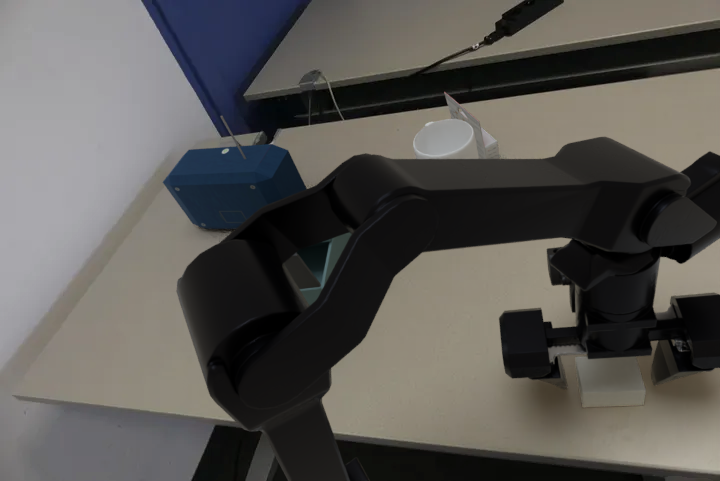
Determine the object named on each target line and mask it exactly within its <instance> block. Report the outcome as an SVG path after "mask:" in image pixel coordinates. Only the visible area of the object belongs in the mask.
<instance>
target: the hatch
mask: <svg viewBox="0 0 720 481" xmlns="http://www.w3.org/2000/svg"><path fill="white" fill-rule="evenodd" d="M284 265H285V266H286V268H287V270H288V271H289V273H290V274H291V276H292V278H293V279H294V281H295V283H296V284H297V286H298V287H299V289H307V288H316V287H321V284H320V282H319V281H318V280H317V278H316V277H315V276H314V275H313V273H312V272H311V271H310V269H309V268H308V267H307V265H306V264H305V263H304V261H303V260H302V259H301V257H300V256H299V255H298V254H297V253H295V254H294V255H293V256H292V257H290V258H289V259H288V260H287V261H286V262H285V263H284Z"/></svg>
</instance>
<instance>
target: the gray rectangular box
mask: <svg viewBox="0 0 720 481" xmlns="http://www.w3.org/2000/svg"><path fill="white" fill-rule="evenodd" d="M574 359H575V360H574V363H575V364H574V367H575V369H574V371H575V376H576V381H577V388H578V391H579V398H580V402H581V407H582V408H604V407H605V408H606V407H609V408H610V407H636V406H637V407H638V406H644V405H645V399H646V393H647V389H646V385H645V382H644V379H643V376H642V372H641V368H640V365H639V362H638V358H637V356H636V357H619V358H602V359H588V357H587V355H583V356H581V355H580V356H575V357H574Z"/></svg>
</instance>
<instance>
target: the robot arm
mask: <svg viewBox="0 0 720 481" xmlns="http://www.w3.org/2000/svg"><path fill="white" fill-rule="evenodd" d="M349 232H350V233H351V236H350V238H349V240H348V242H347V244H346V246H345V248H344V249H343V251H342V253H341V255H340V257H339V259H338V261H337V263H336V264H335V266H334V268H333V270H332V272H331V274H330V276H329V278H328V280H327V281H326V283H325V285H324V287H323V289H322V291H321V293H320V295H319V297H318V298H317V300H316V301H315V302H313V303H312V304H311V305H309V304H308V302H307V301H306V299H305V297H304V296H303V294H302V292H301V291H300V289H299V287H298V286H297V284H296V283H295V281H294V279H293V278H292V276H291V274H290V273H289V271H288V270H287V268H286V266H285V265H284V263H285V262H286V261H287V260H288V259H289V258H290V257H292V256H293V255H294V254H295V253H296V252H297V251H299V250H300V249H303V248H306V247H309V246H312V245H315V244H317V243H320V242H323V241H326V240H329V239H332V238H335V237H337V236H340V235H343V234H346V233H349ZM552 239H569V240H570V241H568V242H567V243H566V244H565V245H564V246H557V247H549V248H548V247H547V248H546V262H547V270H548V276H549V281H550V285H551V286H552V287H553V286H554V287H556V286H564V287H565V286H568V289H569V290H568V293H569V305H570V306H569V307H570V311H571V313H572V314H575V326H564V327H563V326H561V327H553V323H552V321H551V320H550V321H545V320H544V315H543V310H542V307H532V308H519V309H508V310H507V309H506V310H503V312H502V313H501V314H500V315H499V317H498V323H499V334H500V344H501V345H500V346H501V355H502V356H501V357H502V364H503V369H504V374H506V376H508V377H510V378H511V379H512V380H513V379H528V380H530V381H540V382H543V383H547V384H550V385H553V386H555V387H556V388H559V389H561V390H568V382H567V375H566V370H565V367H564V364H563V360H562V357H563V356H579V355H580V356H581V355H586V356H587V357H588V359H602V358H619V357H636V358H637V357H651V356H652V354H653V347H652V342H657V344H656V347H655V350H654V354H653V359H652V361H651V364H650V378H651V381H652V384H653V386H660V385H664V384H666V383H669V382H672V381H675V380H679V379H682V378H685V377H689V376H694V375H697V374H701V373H707V372H713V371H714V370H715V369H720V293H717V292H705V293H703V292H702V293H694V294H691V293H690V294H681V295H680V294H679V295H671V296H670V299H669V305H670V306H668V308H667V310H666V311H659V312H655V310H654V304H655V296H656V289H657V283H658V276H659V270H660V263H661V258H666V259H669V260H672V261H675V262H676V263H677V264H679V265H682V264H685V263H686V262H688V261H689V260H691V259H693V257H695V256H696V255H698V254H700V253H701V252H702V251H704V250H705V249H707V248H708V247H710V246H711V245H712V244H714V243H715V242H717V241H719V240H720V155H719V154H718V153H716V152H713V151H710V150H709V151H707V152H706V153H704V154H703V155H701V156H700V157H698V158H697V159H696V160H695V161H694V162H692V164H691V163H690V165H689V166H687V167H685V168H684V169H683V170H681V171H678V170H677V169H674V168H672V167H670V166H668V165H666V164H664V163H662V162H660V161H658V160H656V159H654V158H652V157H650V156H648V155H646V154H644V153H642V152H639V151H637V150H636V149H633V148H631V147H629V146H627V145H626V144H623V143H621V142H619V141H618V140H615V139H613V138H611V137H608V136H598V137H597V136H596V137H592V138H588V139H587V138H586V139H582V140H578V141H572V142H568V143H567V144H564V145H563V146H561V148H560V149H559V150H558V152H557V153H556V154H555V155H554V156H549V157H545V158H499V159H416V158H390V157H387V156H384V155H381V154H375V153H374V154H371V153H365V152H364V153H361V154H355V155H353V156H351V157H349V158H347V159H346V160H344V161H343V162H341V163H340V164H339V165H338V166H336V168H335V169H333V170H332V171H330V173H328V174H327V175H326V176H325V177H324V178H323V179H322V180H320V181H319V182H318V183H317V184H315V185H314V186H311V187H309V188H307V189H306V190H303V191H301V192H298V193H296V194H293V195H291V196H288V197H286V198H283V199H281V200H278V201H276V202H273V203H271V204H268V205H266V206H263V207H262V208H260V209H259V210H257V211H256V212H255V213H254V214H253V215H251V216H250V217H249V218H248V219H247V220H246V221H244V222H243V223H242V224H241V225H240V226H239V227H237V228H236V229H233V231H232V232H230V233H229V234H228V235H227V236H226V237H225V238H223V239H222V240H221V241H219V243H216V244H214V245H213V246H211V247H209V248H207V249H206V250H204V251H202V252H200V253H199V254H198V255H197V256H196V257H194V259H193V260H192V261H191V262H190V263H188V264H187V265H186V267H185V269H184V271H183V273H182V275H181V276H180V277H179V278H178V279H177V281H176V291H175V292H176V295H177V298H178V301H179V306H180V308H181V311H182V314H183V317H184V320H185V324H186V327H187V330H188V333H189V336H190V339H191V342H192V345H193V349H194V351H195V355H196V357H197V359H198V364H199V367H200V370H201V373H202V376H203V379H204V382H205V386H206V389H207V391H208V394H209V396H210V398H211V400H213V402H214V403H215V404H216V405H217V406H218V407H219V408H221V409H222V410H223V411H224V412H225V414H227V415H228V417H229V418H231V419H233V421H234V422H235V423H237V424H238V425H239V427H241V428H242V429H243V430H245V431H247V432H259V431H260V432H261V433H262V434H263V435H264V437H265V439H266V441H267V443H268V445H269V447H270V449H271V451H272V453H273V455H274V456H275V458H276V460H277V463H278V464H279V466H280V468H281V470H282V472H283V474H284V476H285V477H286V479H287V481H371V480H370V478H369V476H368V475H367V472H366V471H365V469H364V467H363V466H362V464H361V462H360V460H359V458H358V457H354V458H353V459H351V460H350V461H348V462H347V463H345V462H344V459H343V457H342V454H341V451H340V449H339V446H338V442H337V440H336V436H335V435H334V432H333V428H332V426H331V423H330V421H329V418H328V415H327V412H326V409H325V406H324V403H323V398H324V397H325V396H326V395H327V393H329V391H330V389H331V387H332V384H333V381H332V380H333V378H332V368H333V367H334V366H336V365H337V364H338V363H339V362H340V361H342V360H343V359H344V358H345V357H346V356H347V355H349V354H350V353H351V352H352V351H353V350H354V349H356V348H357V347H359V345H360V344H361V343H362V342H363V341H364V339H365V338H366V337H367V335H368V333H369V331H370V329H371V327H372V324H373V322H374V321H375V318H376V316H377V314H378V312H379V311H380V308H381V306H382V304H383V302H384V299H385V297H386V295H387V293H388V291H389V289H390V287H391V284H392V283H393V280H394V279H395V277H396V276H397V275H398V274H400V273H401V272H402V270H404V269H405V268H406V267H407V266H409V265H411V263H412V262H413V261H414V260H416V259H417V258H418V257H419V256H420V255H422V254H423V253H431V252H441V251H449V250H451V251H452V250H459V249H470V248H478V247H486V246H487V247H488V246H496V245H497V246H498V245H507V244H517V243H522V242H523V243H525V242H533V241H534V242H535V241H543V240H552ZM561 356H562V357H561Z"/></svg>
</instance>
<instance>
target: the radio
mask: <svg viewBox="0 0 720 481" xmlns="http://www.w3.org/2000/svg"><path fill="white" fill-rule="evenodd" d="M220 119H221V121H222V122H223V124H224V126H225V128H226V130H227V131H228V133H229V134H230V136H231V138H232V140H233V142H234V144H235V146H223V147H221V146H220V147H210V148H209V147H207V148H192V149H191V148H190V149H188V150H187V151H186V152H185V153H184V154H183V155H182V156H181V158H180V159H179V160H178V161H177V163H176V164H175V165H174V166H173V167H172V169H171V170H170V172H169V173H168V174H167V176H166V177H165V179H164V180H162V184H163V185H164V186H165V187H166V189H167V191H168V193H170V195H171V196H172V198H173V199H174V200H175V201H176V203H177V204H178V206H179V207H180V208H181V210H182V212H183V213H184V215H185V216H186V217H187V218H188V219H189V221H190V222H191V223H192V224H193V225H195V226H197V227H199V228H202V229H206V230H235V229H236V228H237V227H239V226H240V225H241V224H242V223H243V222H244V221H246V220H247V219H248V218H249V217H250V216H251V215H253V214H254V213H255V212H256V211H257V210H259V209H260V208H262V207H263V206H266V205H268V204H271V203H273V202H276V201H278V200H281V199H283V198H286V197H288V196H291V195H293V194H296V193H298V192H301V191H303V190H306V189H308V188H307V185H306V184H305V182H304V180H303V178H302V176H301V173H300V172H299V170H298V168H297V165H296V164H295V161H294V159H293V157H292V155H291V153H290V152H289V149H286V148H283V147H280V146H278V145H276V144H272V143H266V144H251V145H240V144H239V143H238V141H237V139H236V137H235V136H234V134H233V132H232V130H231V129H230V127H229V125H228V123H227V121H226V119H225V117H224V116H223V115H220Z"/></svg>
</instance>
